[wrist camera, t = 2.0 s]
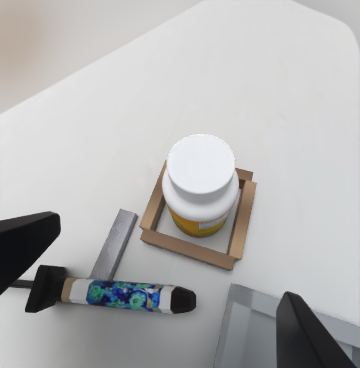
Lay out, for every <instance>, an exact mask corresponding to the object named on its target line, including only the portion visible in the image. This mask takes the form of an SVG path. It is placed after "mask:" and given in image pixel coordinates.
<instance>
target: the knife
mask: <svg viewBox="0 0 360 368" xmlns="http://www.w3.org/2000/svg"><path fill="white" fill-rule="evenodd" d="M64 270H65V267H58V266H47V265H40V266H39V267H38V270H37V273H36V276H35V279H34V281H29V280H16V281H15V282H14V283H13V284H12V285H11V286H10V287H15V288H27V289H31V292H30V295H29V298H28V301H27V304H26V307H25V312H28V313H36V312H39V311H41V310H44V309H46V308H48V307H51V306H53V305H55V303H56V301H60V302H71V303H80V304H89V305H96V306H107V307H116V308H125V309H134V310H143V311H151V312H160V313H168V314H169V313H170V314H177V313H185V312H189V311H192V310H193V309H194V308H195V307H196V295H195V293H194V292H193V291H190V290H188V289H185V288H182V287H179V286H174V285H160V284H146V283H134V282H122V281H109V280H97V279H92V278H89V279H88V278H86V279H85V278H73V277H63V275H64Z"/></svg>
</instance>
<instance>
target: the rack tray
mask: <svg viewBox="0 0 360 368" xmlns="http://www.w3.org/2000/svg"><path fill="white" fill-rule="evenodd" d="M280 301H281V299H278V298H275V297H272V296H270V295H267V294H264V293H261V292H258V291H255V290H252V289H249V288H247V287H244V286H241V285H238V284H232V283H231V287H230V291H229V296H228V301H227V305H226V310H225V315H224V320H223V324H222V329H221V334H220V338H219V343H218V348H217V353H216V357H215V362H214V367H213V368H277V360H276V310H277V307H278V305H279V303H280ZM312 311H313V310H312ZM313 313H314V314H315V315H316V316H317V318H318V319H319V320H320V321H321V323H322V324H323V325H324V326H325V328H326V329H327V330H328V332H329V333H330V334H331V335H332V337H333V338H334V339H335V340H336V342H337V343H338V344H339V345H340V347H341V348H342V349H343V351H344V352H345V353H346V354H347V356H348V357H349V358H350V359H351V361H352V362H353V363H354V364H355V366H356V367H357V368H360V327H359V326H356V325H353V324H350V323H347V322H344V321H342V320H339V319H336V318H333V317H330V316H327V315H324V314H321V313H319V312H316V311H313Z"/></svg>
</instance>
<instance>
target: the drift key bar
mask: <svg viewBox="0 0 360 368" xmlns="http://www.w3.org/2000/svg"><path fill="white" fill-rule="evenodd" d="M137 217H138V216H137V215H136V214H135V213H132V212H129V211H126V210H123V209H120V210H119V213H118V215H117V217H116V219H115V222H114V224H113V226H112V228H111V230H110V233H109V235H108V237H107V239H106V242H105V244H104V246H103V248H102V250H101V253H100V255H99V257H98V259H97V261H96V264H95V266H94V268H93V270H92V273H91V275H90V277H89V278H92V279H97V280H109V281H111V280H112V278H113V275H114V273H115V271H116V268H117V266H118V263H119V261H120V258H121V256H122V254H123V251H124V249H125V246H126V244H127V241H128V239H129V237H130V234H131V232H132V229H133V227H134V224H135V222H136V220H137Z"/></svg>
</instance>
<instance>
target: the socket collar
mask: <svg viewBox="0 0 360 368" xmlns="http://www.w3.org/2000/svg"><path fill="white" fill-rule="evenodd" d="M166 168H167V160H166V161H165V163H164V166H163V168H162V171H161V173H160V175H159V178H158V180H157V183H156V185H155V188H154V190H153V193H152V195H151V198H150V200H149V203H148V205H147V208H146V210H145V213H144V215H143V218H142V220H141V223H140V225H139V227H140V228H142V229H143V232H142V235H141V238H140V239H141V240H142V241H144V242H145V243H148V244H151V245H154V246H157V247H160V248H163V249H166V250H169V251H172V252H175V253H178V254H181V255H184V256H186V257H189V258H192V259H195V260H198V261H201V262H204V263H207V264H210V265H213V266H216V267H219V268H222V269H225V270H228V271H230V270H232V269H233V264H234V260H235V261H238V260H241V258H242V253H243V248H244V243H245V238H246V234H247V229H248V224H249V219H250V214H251V209H252V204H253V199H254V194H255V189H256V184H257V183H255V182H251V181H252V176H253V172H250V171H246V170H242V169H238V168H235V170H236V172H237V175H238V179H239V188H242V190H241V194H240V198H239V203H238V207H237V211H236V216H235V220H234V224H233V229H232V233H231V237H230V242H229V246H228V250H227V254H223V253H220V252H217V251H214V250H211V249H208V248H205V247H202V246H199V245H196V244H193V243H189V242H186V241H183V240H180V239H177V238H174V237H171V236H168V235H165V234H162V233H158V232H155V229H156V227H157V224H158V221H159V219H160V216H161V213H162V210H163V208H164V205H165V202H166V201H165V198H164V194H163V190H162V179H163V175H164V172H165V170H166Z"/></svg>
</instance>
